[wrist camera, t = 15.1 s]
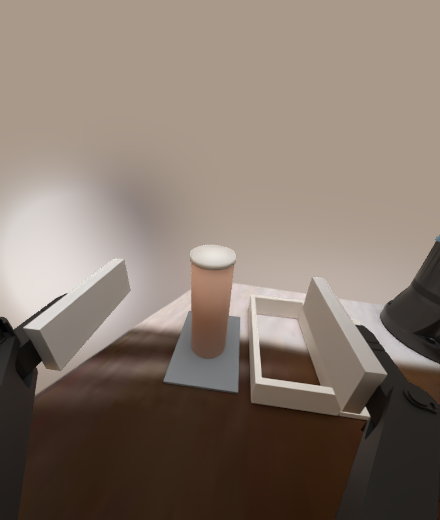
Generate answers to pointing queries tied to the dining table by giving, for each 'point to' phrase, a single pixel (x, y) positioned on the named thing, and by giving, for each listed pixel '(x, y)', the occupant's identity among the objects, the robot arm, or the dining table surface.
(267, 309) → the white holder tray
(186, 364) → the felt mat
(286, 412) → the dining table surface
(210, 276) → the tube
